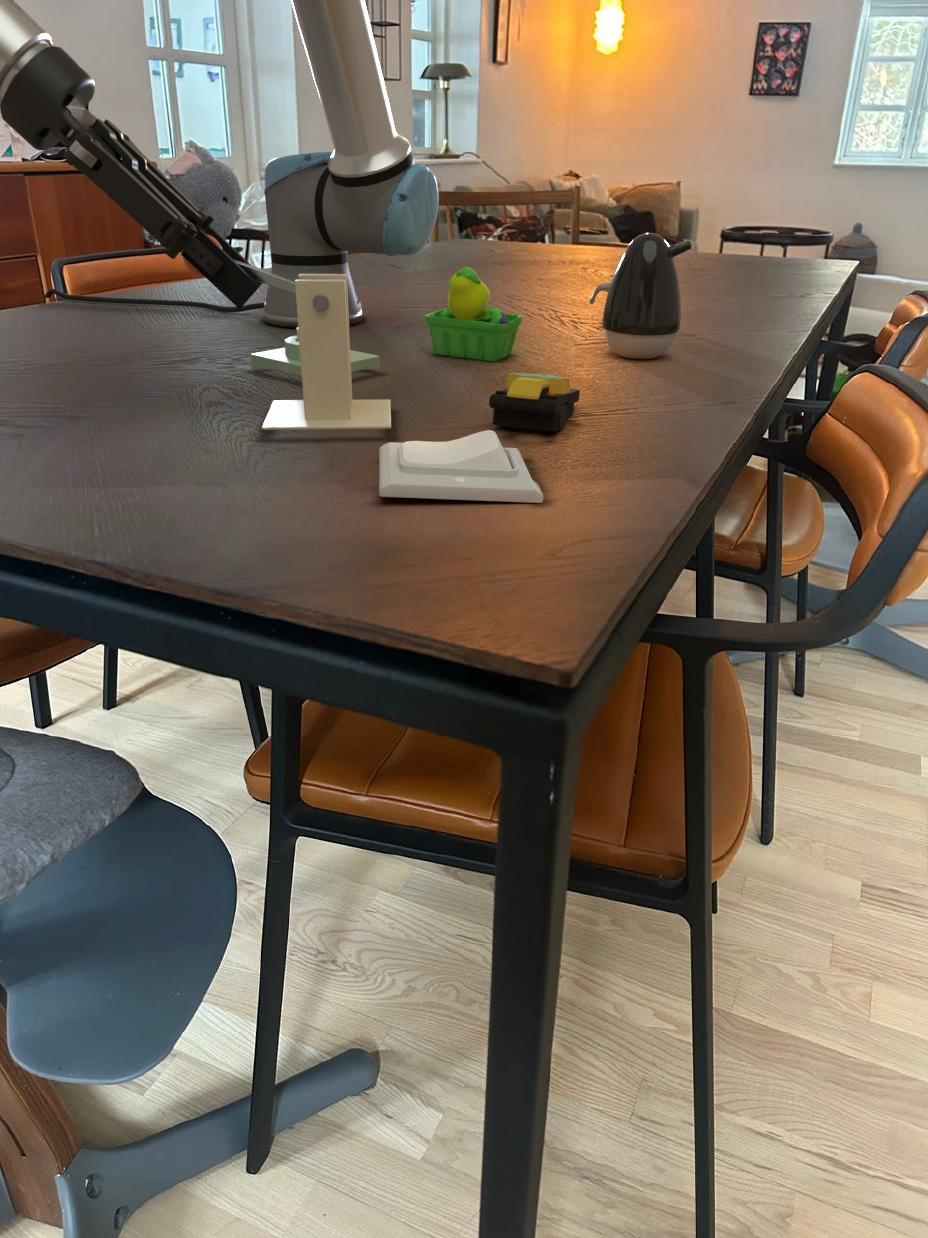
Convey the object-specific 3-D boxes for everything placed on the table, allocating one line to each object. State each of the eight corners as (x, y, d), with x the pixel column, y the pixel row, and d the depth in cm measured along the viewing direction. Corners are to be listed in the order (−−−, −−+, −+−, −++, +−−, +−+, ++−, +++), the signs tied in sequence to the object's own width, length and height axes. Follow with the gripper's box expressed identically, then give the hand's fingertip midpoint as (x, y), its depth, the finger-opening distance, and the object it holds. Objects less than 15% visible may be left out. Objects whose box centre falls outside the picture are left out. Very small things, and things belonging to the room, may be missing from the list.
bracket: (262, 440, 82) (247, 284, 76) (274, 412, 91) (261, 269, 84) (391, 439, 83) (387, 284, 77) (390, 411, 92) (386, 270, 85)
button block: (252, 372, 107) (248, 338, 105) (314, 359, 113) (312, 327, 112) (318, 388, 100) (315, 352, 98) (380, 374, 107) (379, 340, 105)
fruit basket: (523, 353, 118) (527, 264, 113) (498, 366, 111) (501, 271, 106) (447, 345, 123) (447, 258, 117) (418, 357, 115) (417, 265, 110)
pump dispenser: (678, 365, 113) (694, 237, 106) (597, 360, 115) (607, 234, 108) (677, 349, 122) (692, 230, 115) (602, 345, 124) (612, 228, 117)
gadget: (582, 428, 91) (588, 373, 90) (553, 444, 80) (559, 381, 78) (523, 422, 93) (527, 368, 91) (485, 436, 81) (490, 374, 79)
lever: (174, 270, 78) (183, 228, 76) (183, 265, 81) (191, 225, 79) (331, 325, 81) (342, 286, 79) (333, 318, 84) (343, 280, 83)
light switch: (548, 460, 67) (380, 453, 66) (542, 511, 69) (378, 505, 68) (527, 421, 77) (380, 414, 75) (522, 467, 79) (378, 460, 77)
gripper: (35, 117, 80) (239, 308, 89) (-43, 112, 65) (211, 341, 74) (84, 49, 78) (288, 252, 87) (15, 28, 63) (269, 275, 72)
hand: (252, 293), depth 81 cm, fingers closed on lever, 4 cm apart
